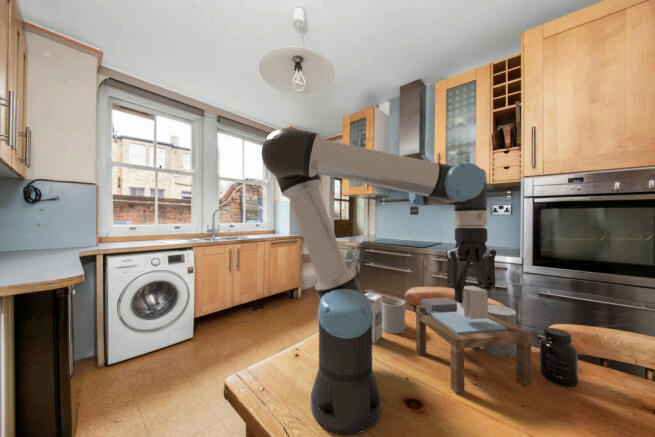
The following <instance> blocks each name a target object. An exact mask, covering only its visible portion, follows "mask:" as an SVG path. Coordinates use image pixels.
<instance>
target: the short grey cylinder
mask: <svg viewBox="0 0 655 437" xmlns="http://www.w3.org/2000/svg"><path fill="white" fill-rule="evenodd" d="M488 314H490V315H492V316H495V317H497V318H499V319H501V320H503V321H505V322H507V323H509V324H511V325H513V326H516V327H517V311H516V310H515V309H513V308H510V307H507V306H505V305H500V304H494V303H488ZM480 349H482V350H484V351H485V352H487V353H490V354H492V355H494V356H497V357H503V358H513V357H516V344H505V345H494V346H483V347H480Z"/></svg>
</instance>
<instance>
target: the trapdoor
mask: <svg viewBox="0 0 655 437" xmlns="http://www.w3.org/2000/svg"><path fill="white" fill-rule="evenodd" d="M420 304H421V305H422V306H424V307H425V308H426V312H427V313H428V315H430V316H431V317H433V318H434V319H435V320H437V321H438V322H440V323H441V324H443V325H444V326H445V327H447V328H448V329H450V330H451V331H453V332H454V333H455V334H457V335H469V334H482V333H494V332H507V328H506V327H504V326H502V325H500V324H498V323H496V322H494V321H492V320H490V319H488V318H482V319H469V318H467V317H465V316H462V315H461V314H459V313H457V302H456V301H455V299H453V298H451V297H434V298H433V297H432V298H431V297H430V298H421V302H420ZM421 305H420V306H421Z"/></svg>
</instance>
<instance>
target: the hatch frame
mask: <svg viewBox="0 0 655 437" xmlns="http://www.w3.org/2000/svg"><path fill="white" fill-rule="evenodd" d="M415 316H416V320H415V323H416V324H415V328H416V329H415V333H416V334H415V336H416V337H415V339H416V340H415V341H416V343H415V344H416V345H415V348H416V349H415V351H416V353H417V354H418V355H419V356H426V355H427V327H428V328H429V329H430V330H432V331H433V332H435V334H437V335H438V336H439V337H440V338H442V339H443V340H445V342H447V343H448V344H449V345H450V389H451V391H452V392H454V393H455V395H463V394H465V349H471V350H473V351H480V350H481V347H483V346H494V345H505V344H516V356H515V357H516V360H515V361H516V381H517V383H519V384H520V385H521V386H523V387H530V386H532V383H533V382H532V381H533V380H532V334H531V333H530V332H528V331H526V330H524V329H522V328H519V327H518V326H517V325H516V326H513V325H511V324H509V323H507V322H505V321H503V320H501V319H499V318H497V317H495V316H492V315H490V314H488V319H490V320H492V321H494V322H496V323H498V324H500V325H502V326H504V327H506V328H507V332H494V333H482V334H469V335H457V334H455V333H454V332H453V331H451V330H450V329H448V328H447V327H445V326H444V325H443V324H441V323H440V322H438V321H437V320H435V319H434V318H433V317H431V316H430V315H428V313H427V312H426V308H425V307H424V306H422V305H416V306H415Z"/></svg>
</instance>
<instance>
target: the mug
mask: <svg viewBox="0 0 655 437" xmlns="http://www.w3.org/2000/svg"><path fill="white" fill-rule="evenodd" d="M382 331H384V332H386V333H389V334H396V335H397V334H402V333H404V332H405V331H406V301H404V300H403V299H400V298H399V297H398V298H397V297H384V298H383V297H382Z"/></svg>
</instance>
